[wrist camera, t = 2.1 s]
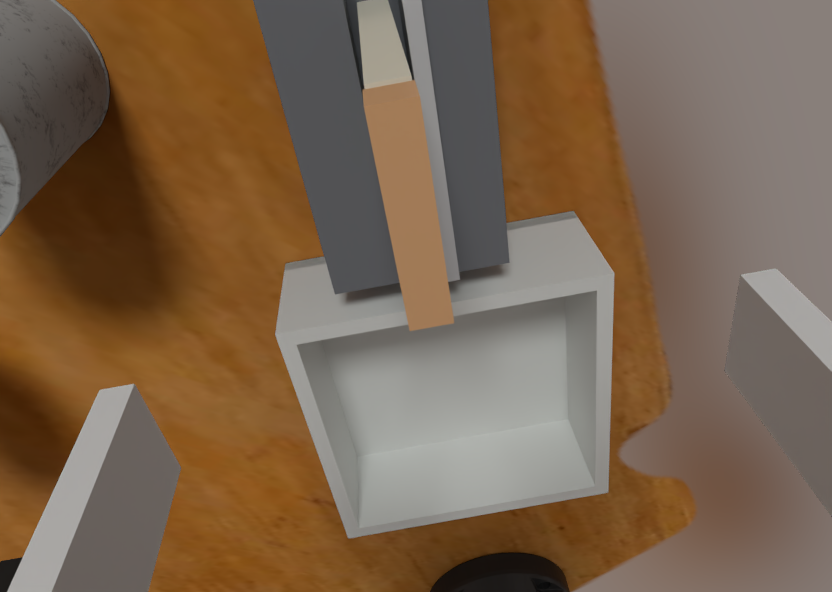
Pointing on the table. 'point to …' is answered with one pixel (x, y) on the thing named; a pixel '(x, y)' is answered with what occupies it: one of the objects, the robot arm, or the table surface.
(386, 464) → the bin
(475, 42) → the dispenser
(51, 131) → the grey cylinder
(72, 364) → the table surface
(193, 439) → the table surface
